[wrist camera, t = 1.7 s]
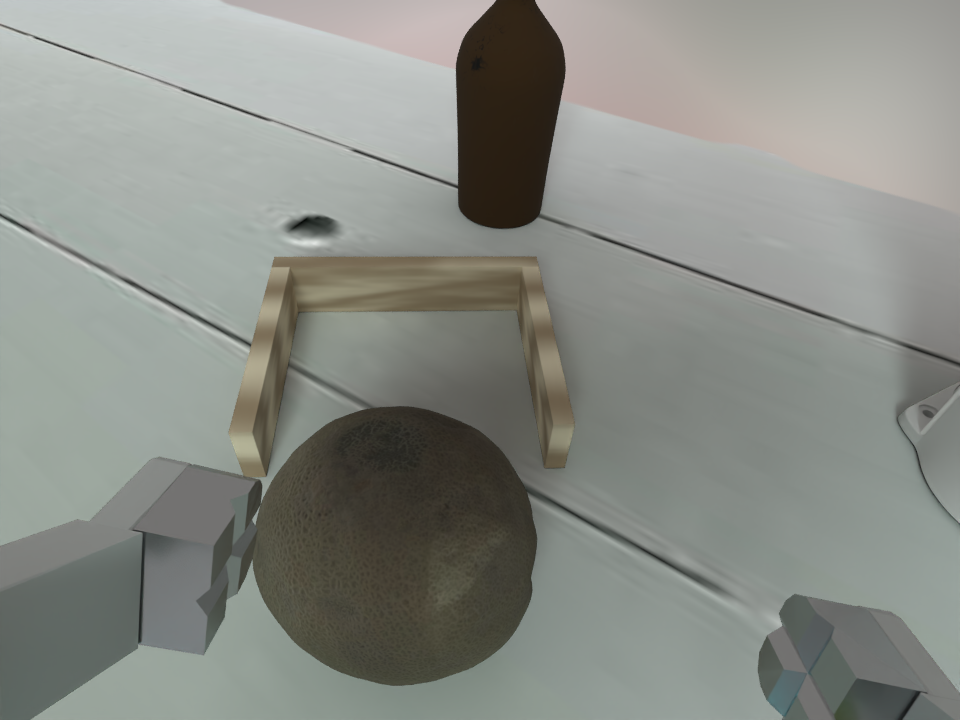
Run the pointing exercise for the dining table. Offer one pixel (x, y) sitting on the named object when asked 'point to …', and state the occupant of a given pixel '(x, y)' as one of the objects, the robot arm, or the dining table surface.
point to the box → (397, 290)
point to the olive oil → (507, 113)
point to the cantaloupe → (396, 546)
